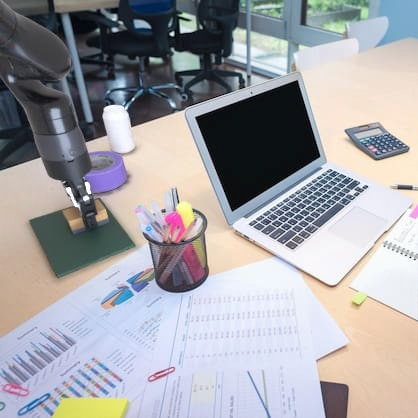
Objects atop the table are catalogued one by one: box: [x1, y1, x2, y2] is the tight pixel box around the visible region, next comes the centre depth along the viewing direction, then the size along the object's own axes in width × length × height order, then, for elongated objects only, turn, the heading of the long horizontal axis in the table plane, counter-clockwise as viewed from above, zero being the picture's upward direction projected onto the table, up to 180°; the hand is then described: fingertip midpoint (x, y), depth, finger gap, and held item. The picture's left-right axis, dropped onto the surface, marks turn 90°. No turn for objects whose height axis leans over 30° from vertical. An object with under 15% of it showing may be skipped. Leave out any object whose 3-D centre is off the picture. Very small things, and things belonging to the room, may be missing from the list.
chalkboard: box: [28, 197, 137, 279], centre depth 80 cm, size 14×20×1 cm
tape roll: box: [84, 150, 128, 194], centre depth 94 cm, size 12×12×5 cm
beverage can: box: [102, 104, 136, 154], centre depth 105 cm, size 6×6×12 cm
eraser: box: [62, 199, 109, 235], centre depth 81 cm, size 7×4×4 cm, turn 132°
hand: (88, 221), depth 82 cm, fingers closed on eraser, 4 cm apart
